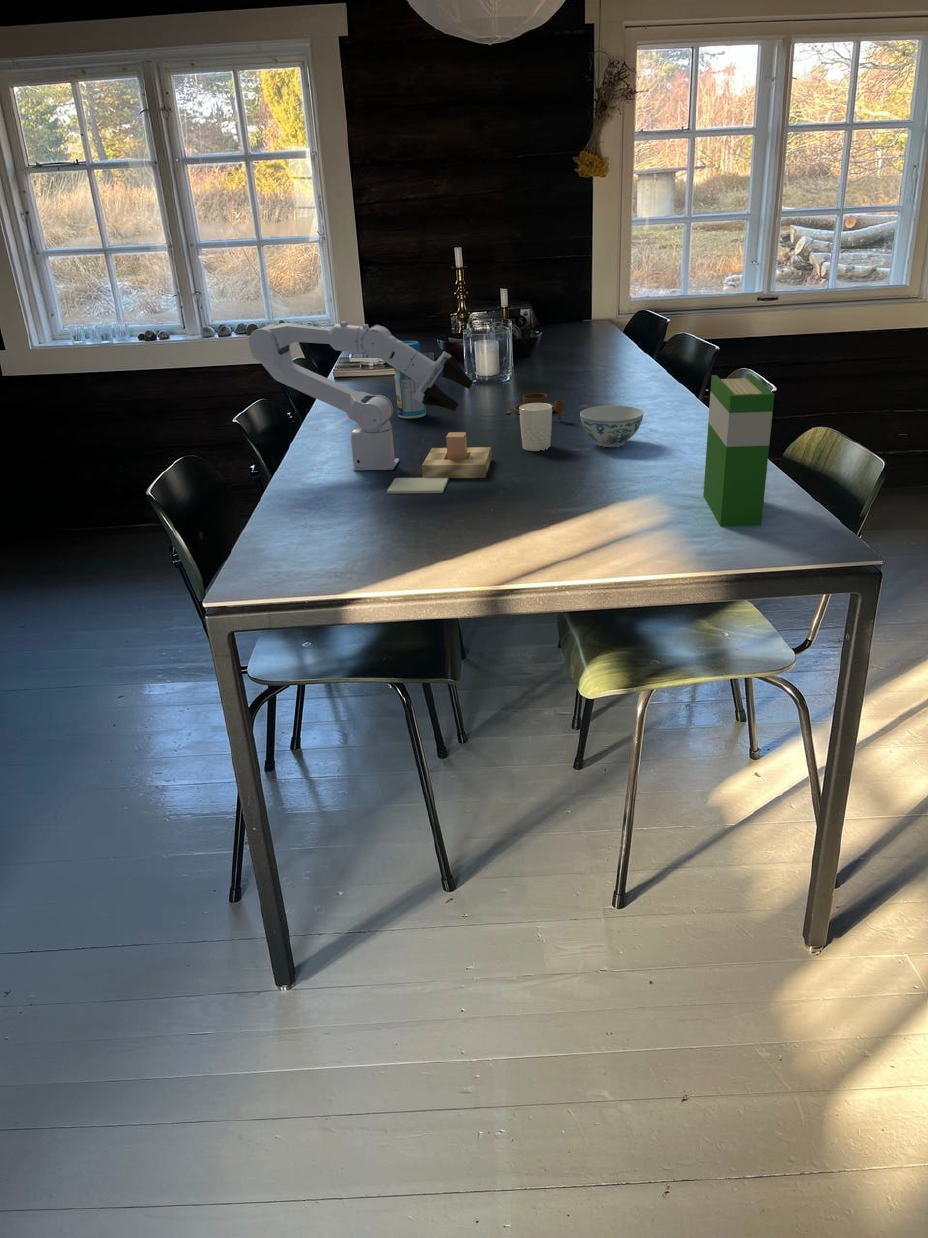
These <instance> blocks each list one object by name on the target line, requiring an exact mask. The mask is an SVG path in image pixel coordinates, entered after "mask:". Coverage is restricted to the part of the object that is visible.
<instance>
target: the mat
mask: <svg viewBox="0 0 928 1238" xmlns="http://www.w3.org/2000/svg"><path fill="white" fill-rule="evenodd" d="M448 482H449V478H423V477H395V478H393V481H392V482H391V484H390V486H389V487H388V488H387V490H386V492H387V494H443V493H444V491H445V489H446V486H447V484H448Z"/></svg>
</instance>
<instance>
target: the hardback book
mask: <svg viewBox="0 0 928 1238" xmlns="http://www.w3.org/2000/svg"><path fill="white" fill-rule="evenodd" d="M710 380H711V381H710V395H709V408H708V409H709V410H708V423H707V440H706V449H705V450H706V452H705V463H704V464H705V466H704V481H703V498H704V500H705V502H706V503H707V505H708V507H709V509H710V512H712V515H713V516H714V518H715V520H716V521H717V523H718V525H719V527H751V526H752V527H755V526H757V527H758V526H762V523H763V522H762V521H763V512H764V502H765V492H766V491H765V490H766V482H767V481H766V480H767V470H768V462H769V452H770V443H771V442H770V441H771V431H772V424H773V423H772V422H773V421H772V420H773V412H774V411H773V410H774V401H775V393H774V392H773V391H771V390H770V389H769V388H768V387H767V386H766V385H765V384H763V382H761V381H760V380H759V379H758V378H756V376H754V375H753V374H752V373H746V375H745V377H744V378H743V377H742V378H741V377H740V378H720V377H719V376H718V375H717V374H715V375H714V374H712V375H711V379H710Z"/></svg>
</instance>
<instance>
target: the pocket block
mask: <svg viewBox="0 0 928 1238" xmlns="http://www.w3.org/2000/svg"><path fill="white" fill-rule="evenodd" d="M491 462H492V446H487V447H485V446H483V447H482V446H477V447H476V446H475V447H467V459H460V460H447V447H432V448H430V451H429V452H428V454H427V456H426V457H425V459H424V461H423V462H422V464H421V468H422V469H421V470H422V471H421V472H422V478H448V479H478V478H479V479H482V478H483V479H486V476H487V473H488V471H489V469H490V464H491Z"/></svg>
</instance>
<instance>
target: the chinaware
mask: <svg viewBox="0 0 928 1238" xmlns="http://www.w3.org/2000/svg"><path fill="white" fill-rule="evenodd" d="M644 414H645V412H644V410H642V409H640V408H638V407H635V406H628V405H598V406H593V407H588V408H585V409H583V410H581V411H580V412H579V415H580V417H579V418H580V421H581V425H582V426H583V429H584V430H585V432H586V433H587V435H588V436H589V437H590V438H591V439H592V440H594V441H596V445H597V444H598V445H599V446H598V445H597V446H598V447H600V446H604V447H618V446H622V445H624V444H625V445H626V442H627V441H628V440H630V439H631V438H632V437H633V436H634V435H635V434H636V433H637V432H638V430H639V428H640V426H641V424H642V422H643V420H644V419H643V418H644ZM625 445H624V446H625ZM604 447H603V448H604ZM622 447H623V446H622ZM618 448H619V447H618Z"/></svg>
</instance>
